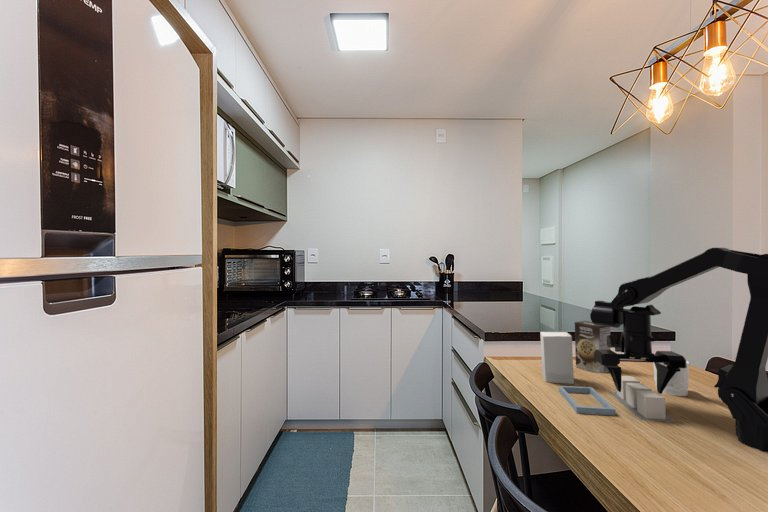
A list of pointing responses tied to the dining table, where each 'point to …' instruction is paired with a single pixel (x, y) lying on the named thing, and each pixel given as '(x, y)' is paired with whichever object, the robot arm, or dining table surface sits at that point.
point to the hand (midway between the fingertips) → (639, 392)
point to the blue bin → (604, 410)
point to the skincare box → (557, 357)
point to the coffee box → (590, 345)
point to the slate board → (637, 411)
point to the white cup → (676, 382)
